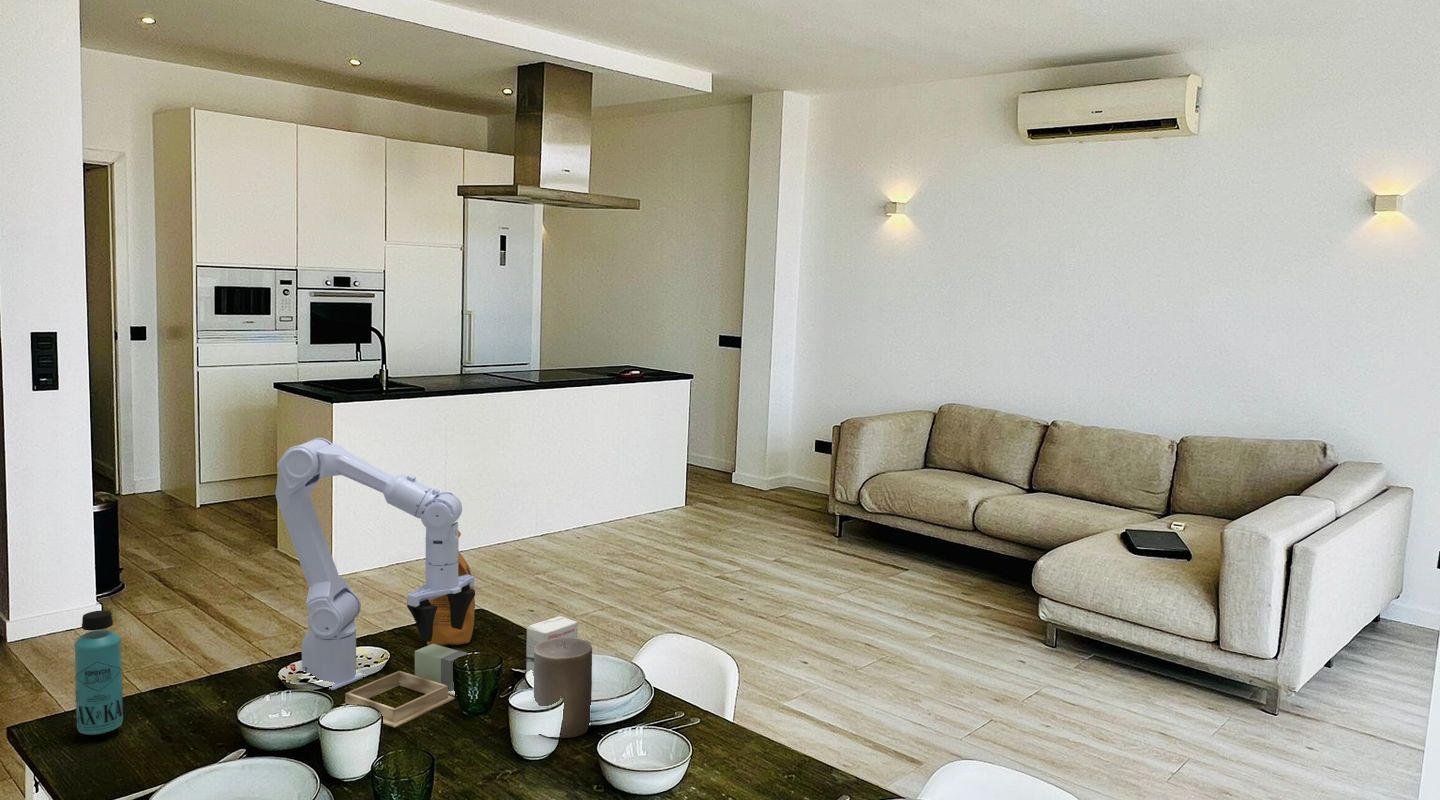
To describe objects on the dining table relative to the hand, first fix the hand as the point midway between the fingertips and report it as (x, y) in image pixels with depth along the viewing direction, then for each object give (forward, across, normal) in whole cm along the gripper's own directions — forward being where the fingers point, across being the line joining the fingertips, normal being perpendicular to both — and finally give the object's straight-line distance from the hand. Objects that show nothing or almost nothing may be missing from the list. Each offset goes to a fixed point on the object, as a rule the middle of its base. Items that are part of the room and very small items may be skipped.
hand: (441, 634), depth 181 cm
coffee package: (+10, +18, +15) cm, 25 cm away
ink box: (+10, +10, -17) cm, 22 cm away
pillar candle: (+10, -2, -29) cm, 31 cm away
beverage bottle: (+10, -44, +29) cm, 54 cm away
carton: (+9, -10, 0) cm, 14 cm away
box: (+9, 0, 0) cm, 9 cm away
